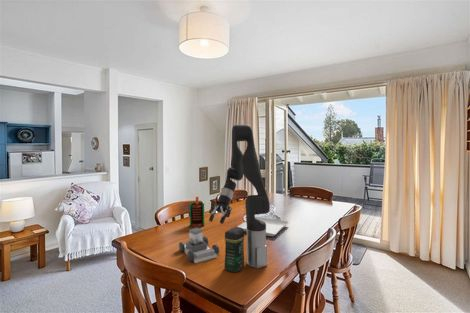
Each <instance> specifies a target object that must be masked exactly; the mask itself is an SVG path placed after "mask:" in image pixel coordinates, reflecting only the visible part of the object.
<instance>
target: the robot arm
mask: <svg viewBox="0 0 470 313" xmlns="http://www.w3.org/2000/svg"><path fill="white" fill-rule="evenodd" d="M231 129H232V130H231V160H230V161H231V162H230V167H229V168H227V170H226V177H225V181H224V182H225V183H224V185H223V188H222V190H221V191H220V194H219V197H218V199H217V201H216V202H217V204H215V203H213V204H212V205H211V206H210V209H209V212H208V213H209V214H210V216H209V219H208V221H209V222H210V223H211V222H213V220H214V218H215V216H216V215H217V214H222V216H221V217H220V220H219V223H220V224H221V225H223V224H224V223H225V221H226V218H229V217H230V216H231V213H232V211H233V210H232V209H233V208H232V207H231V206H230V205H231V202H232V199H233V196H234V192H235V190H236V187H237V184H236V182H235V181H241V180H243V177H245V178H246V180H248V182H249V183H251V185H252V186H253V187H254V189H255V190H256V193H257V194H252V195H251V194H250V195H247V196H246V198H245V218H246V220H245V222H246V223H247V232H246V264H247V265H248V266H249V267H252V268H255V269H261V268H263V267H266V266H268V245H267V236H266V223H265V222H264V221H262V220H259V219H256V218H255V217H256V215H258V216H259V215H266V214H268V213H269V212H270V209H271V204H270V200H269V196H268V192H267V190H266V186H265V184H264V181H263V177H262V176H263V175H262V171H261V167H260V161H259V159H258V155H257V151H256V150H257V149H256V146H255V138H254V133H253V129H252V126H251V125H250V124H234V125H233V126H232V128H231ZM238 142H246V145H247V146H246V147H245V150H244V153H243V152H242V150H241V148H240V147H239V145H238ZM233 180H235V181H233Z"/></svg>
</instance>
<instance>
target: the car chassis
mask: <svg viewBox="0 0 470 313" xmlns="http://www.w3.org/2000/svg"><path fill="white" fill-rule="evenodd" d="M208 245H209V239H208V237H207V236H203V244H200V245H196V246H192V245H191V244H189V240H187V241H185V242H184V241H179V242H178V251H179V252H180V253H183V252H184V253H185V254H186V256H187V260H188V262H190V263H191V262H193V263H194V264H197V263H201V262H204V261H209V260H212V259H215V258H218V255H219V253H220V246H219V245H218V244H212V246H211V248H210V247H209V246H208Z"/></svg>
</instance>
